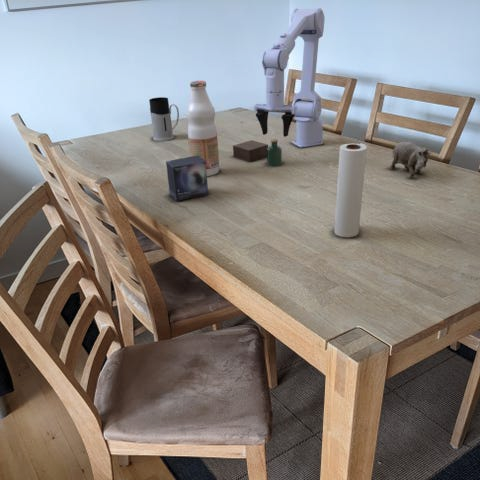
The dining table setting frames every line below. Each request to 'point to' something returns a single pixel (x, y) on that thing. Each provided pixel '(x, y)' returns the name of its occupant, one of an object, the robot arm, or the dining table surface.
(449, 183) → the dining table surface
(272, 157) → the bottle
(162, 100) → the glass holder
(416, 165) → the rhinoceros figurine
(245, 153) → the block
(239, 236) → the dining table surface
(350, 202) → the paper towel roll
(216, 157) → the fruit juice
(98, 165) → the dining table surface
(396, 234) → the dining table surface
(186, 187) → the small box
